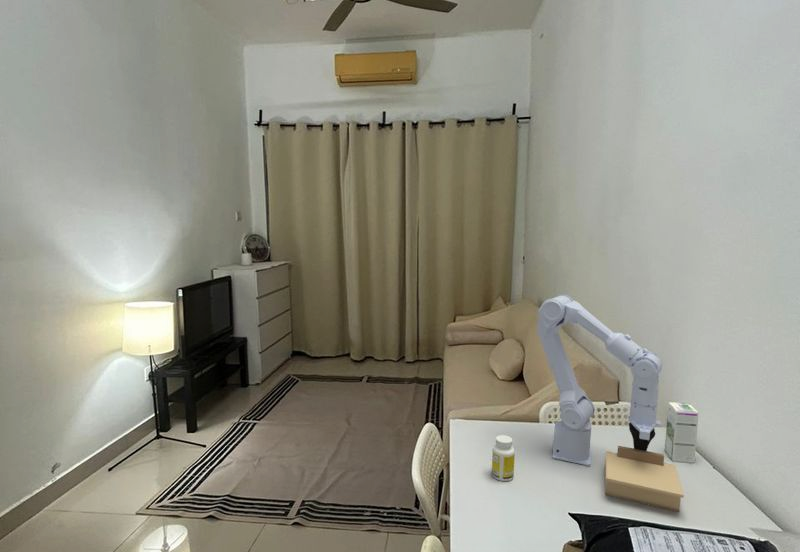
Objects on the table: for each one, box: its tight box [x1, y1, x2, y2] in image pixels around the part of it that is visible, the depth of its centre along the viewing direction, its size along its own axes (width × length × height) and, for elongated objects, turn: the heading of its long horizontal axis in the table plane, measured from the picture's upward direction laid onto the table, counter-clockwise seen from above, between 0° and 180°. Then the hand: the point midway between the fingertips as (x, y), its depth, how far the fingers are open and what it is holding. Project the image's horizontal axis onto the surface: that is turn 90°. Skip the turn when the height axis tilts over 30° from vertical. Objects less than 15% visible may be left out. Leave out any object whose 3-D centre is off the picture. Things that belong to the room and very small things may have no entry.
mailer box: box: [604, 450, 682, 513], centre depth 109 cm, size 15×13×4 cm
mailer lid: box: [605, 445, 685, 499], centre depth 106 cm, size 15×13×3 cm
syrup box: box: [664, 401, 700, 464], centre depth 123 cm, size 6×6×14 cm
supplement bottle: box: [491, 434, 516, 482], centre depth 113 cm, size 5×5×10 cm
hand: (639, 454), depth 113 cm, fingers closed
